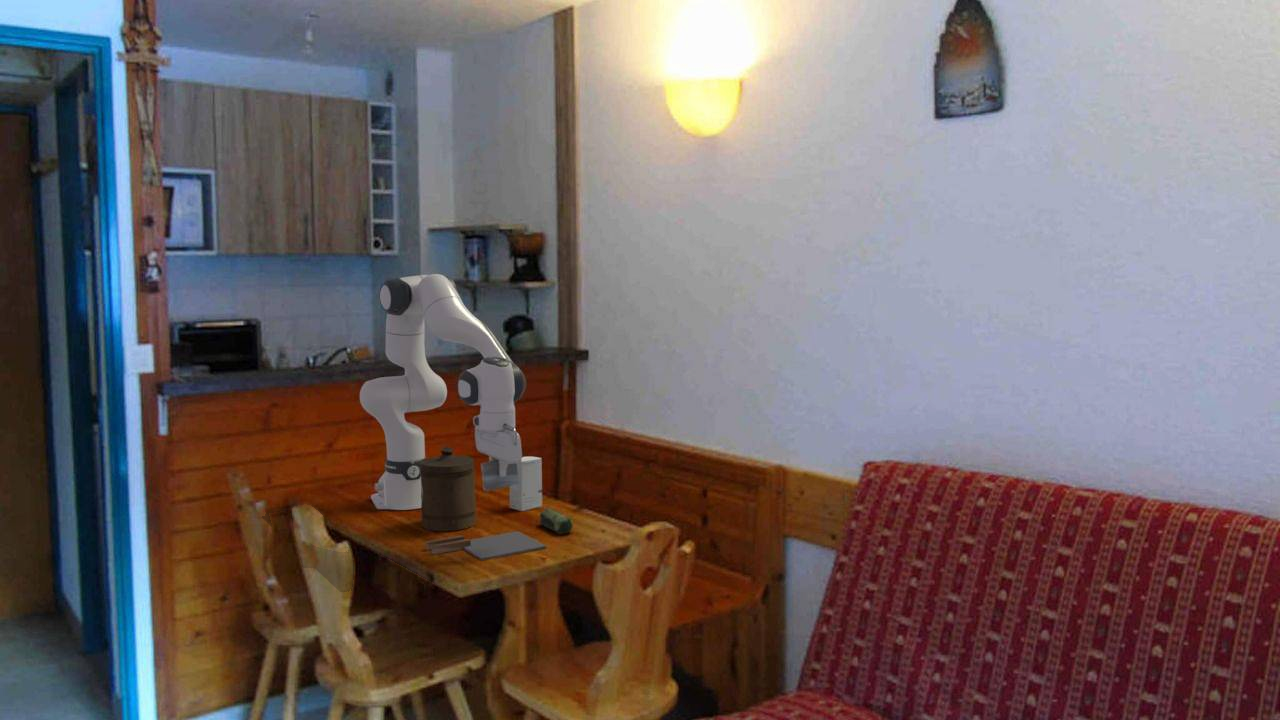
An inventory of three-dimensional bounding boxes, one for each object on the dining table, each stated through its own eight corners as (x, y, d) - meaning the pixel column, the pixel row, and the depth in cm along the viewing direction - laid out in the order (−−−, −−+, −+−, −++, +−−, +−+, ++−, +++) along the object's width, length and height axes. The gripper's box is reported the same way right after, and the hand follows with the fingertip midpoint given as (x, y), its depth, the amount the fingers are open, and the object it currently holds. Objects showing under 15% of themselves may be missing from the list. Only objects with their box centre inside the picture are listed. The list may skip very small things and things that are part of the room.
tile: (483, 489, 255) (480, 463, 254) (515, 482, 260) (512, 456, 259) (486, 491, 253) (484, 464, 252) (518, 483, 258) (516, 457, 257)
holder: (425, 549, 256) (425, 541, 256) (461, 542, 262) (461, 535, 261) (433, 554, 251) (433, 546, 251) (470, 547, 257) (470, 540, 257)
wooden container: (444, 514, 289) (442, 439, 286) (486, 521, 282) (484, 444, 279) (410, 527, 276) (408, 449, 273) (453, 534, 269) (451, 454, 266)
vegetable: (576, 534, 269) (575, 516, 269) (559, 537, 266) (558, 519, 266) (552, 522, 281) (551, 504, 280) (535, 525, 278) (535, 507, 278)
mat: (455, 544, 260) (455, 542, 260) (518, 533, 270) (518, 531, 270) (481, 560, 247) (481, 558, 246) (546, 548, 256) (546, 545, 256)
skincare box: (521, 511, 291) (520, 461, 290) (508, 508, 295) (507, 458, 294) (543, 506, 297) (542, 457, 296) (530, 502, 301) (529, 454, 300)
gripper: (527, 426, 247) (528, 480, 249) (492, 414, 264) (493, 466, 266) (504, 428, 244) (505, 484, 246) (470, 417, 261) (471, 469, 263)
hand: (499, 474), depth 256 cm, fingers closed on tile, 2 cm apart
